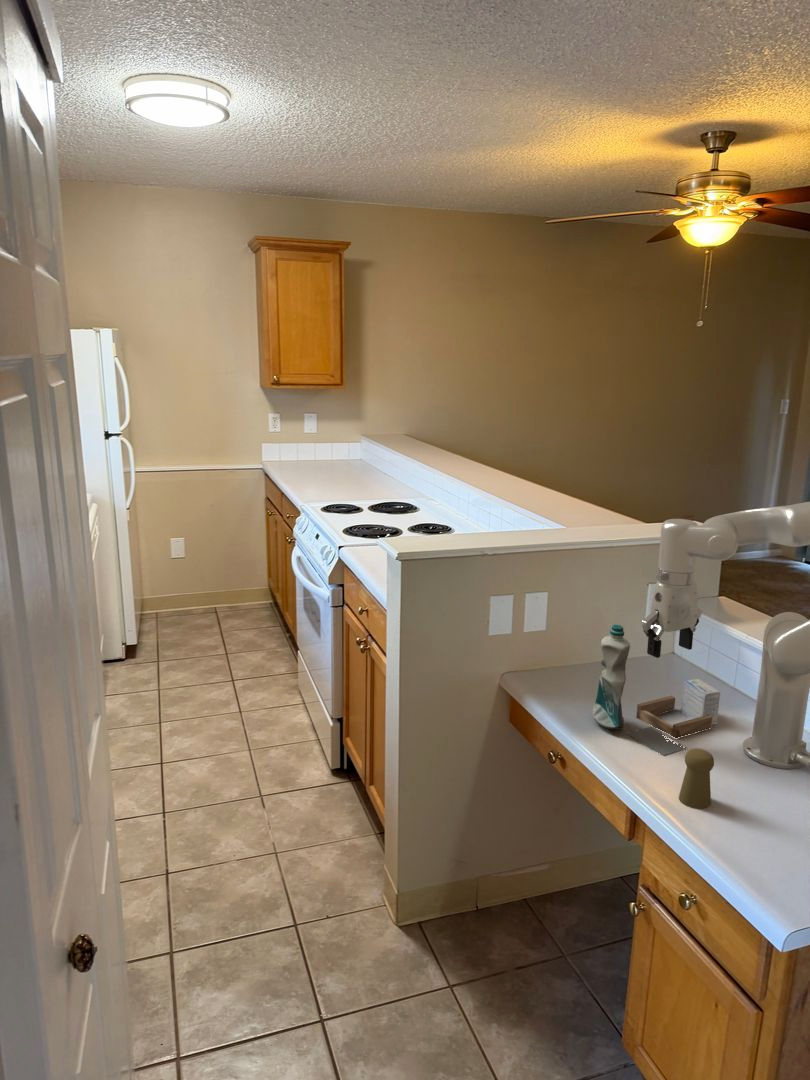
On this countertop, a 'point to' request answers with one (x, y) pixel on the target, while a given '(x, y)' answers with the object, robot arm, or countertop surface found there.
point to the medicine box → (700, 700)
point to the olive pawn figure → (697, 779)
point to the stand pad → (655, 741)
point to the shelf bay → (661, 705)
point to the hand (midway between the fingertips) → (669, 651)
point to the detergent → (611, 680)
